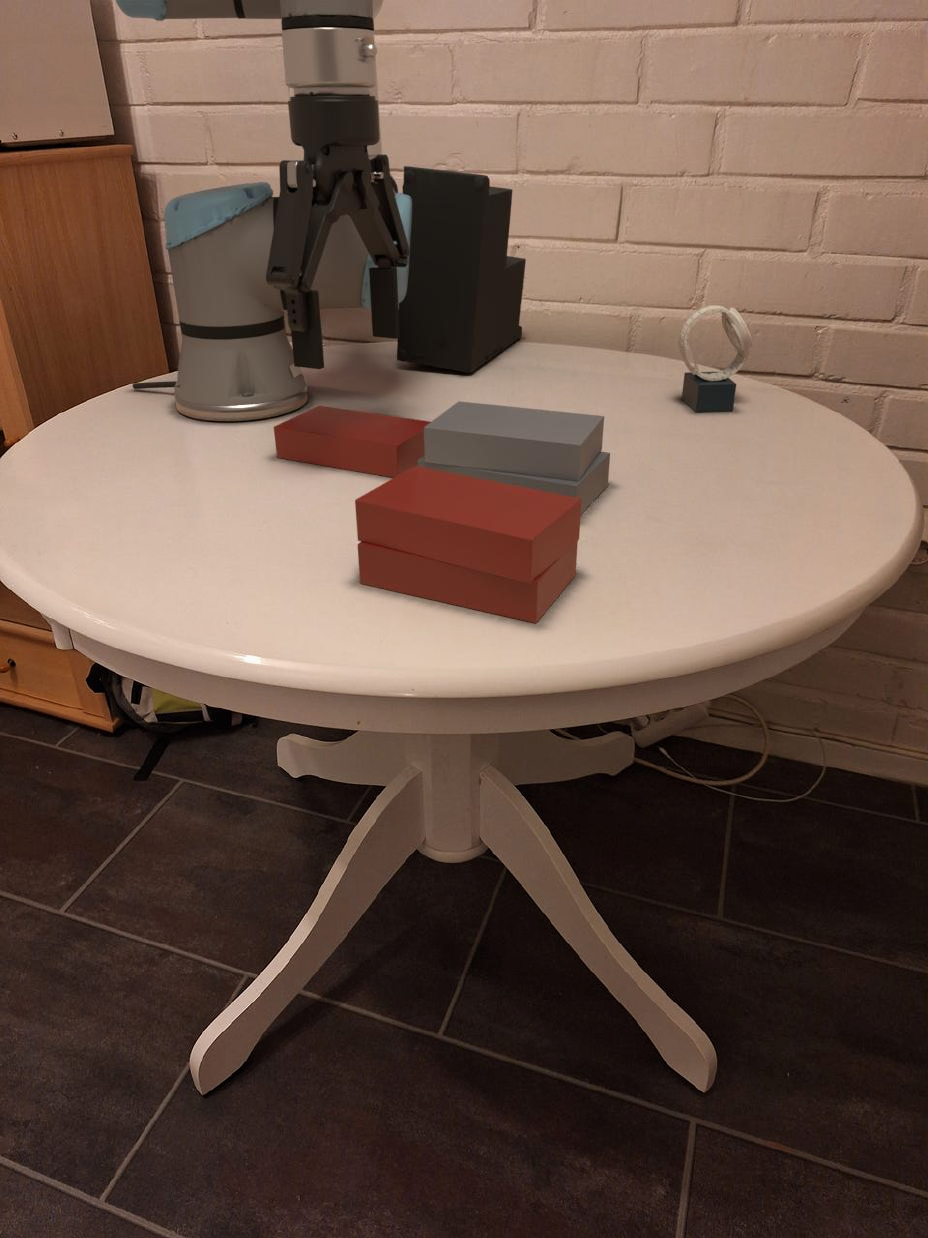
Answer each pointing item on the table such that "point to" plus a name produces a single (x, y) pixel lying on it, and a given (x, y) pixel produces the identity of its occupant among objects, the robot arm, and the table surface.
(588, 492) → the grey book low
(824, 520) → the table surface
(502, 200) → the bookend
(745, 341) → the ring sculpture
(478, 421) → the grey book top
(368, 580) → the red stack low
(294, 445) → the red book
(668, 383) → the table surface
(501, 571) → the red stack top
